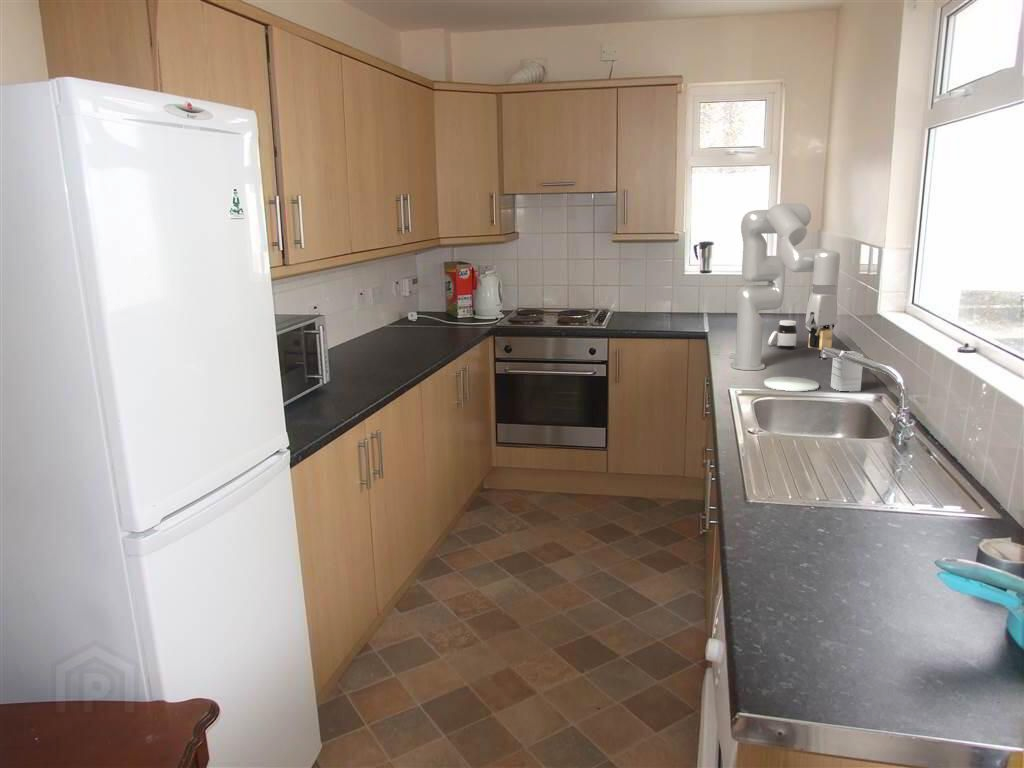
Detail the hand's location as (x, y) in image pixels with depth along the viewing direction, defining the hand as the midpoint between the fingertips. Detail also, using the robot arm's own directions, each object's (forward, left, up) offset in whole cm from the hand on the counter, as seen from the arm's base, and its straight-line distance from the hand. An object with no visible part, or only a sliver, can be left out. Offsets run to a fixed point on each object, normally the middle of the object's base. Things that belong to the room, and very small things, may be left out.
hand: (819, 345), depth 248 cm
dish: (-14, +6, -17) cm, 23 cm away
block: (0, 0, -1) cm, 1 cm away
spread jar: (-62, +60, -17) cm, 88 cm away
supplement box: (-1, +17, -17) cm, 24 cm away
